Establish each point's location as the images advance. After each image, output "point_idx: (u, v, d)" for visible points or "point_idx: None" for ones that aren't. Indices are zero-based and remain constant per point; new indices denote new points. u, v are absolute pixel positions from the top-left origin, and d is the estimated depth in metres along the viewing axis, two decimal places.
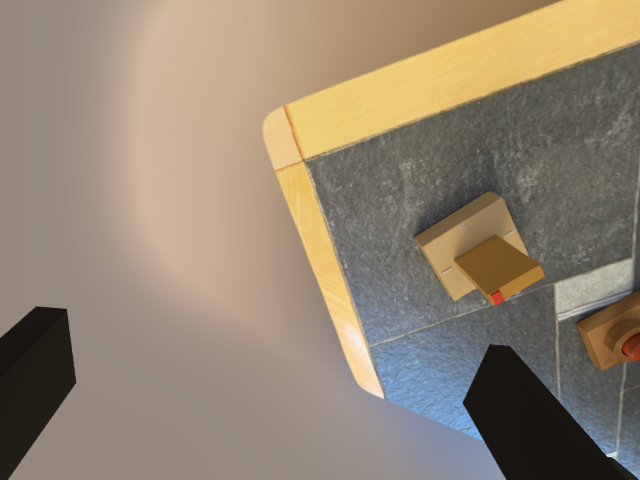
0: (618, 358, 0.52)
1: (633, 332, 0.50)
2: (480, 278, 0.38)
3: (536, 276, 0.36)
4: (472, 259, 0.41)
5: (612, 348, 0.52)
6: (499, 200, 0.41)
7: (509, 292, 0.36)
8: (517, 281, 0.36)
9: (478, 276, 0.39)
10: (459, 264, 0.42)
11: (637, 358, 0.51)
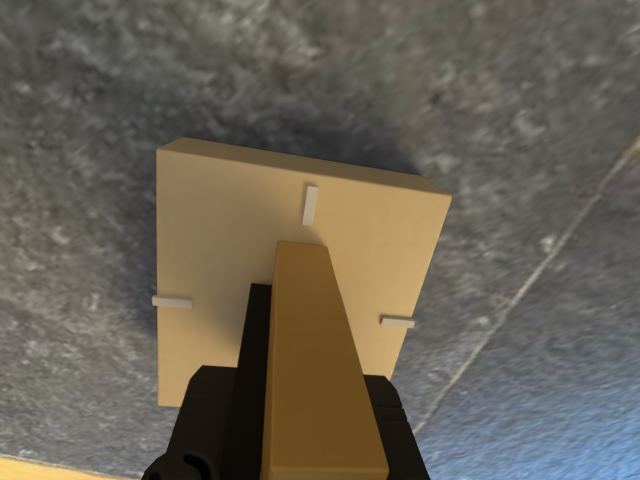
0: None
1: None
2: None
3: None
4: None
5: None
6: (159, 164, 0.11)
7: None
8: None
9: None
10: None
11: None
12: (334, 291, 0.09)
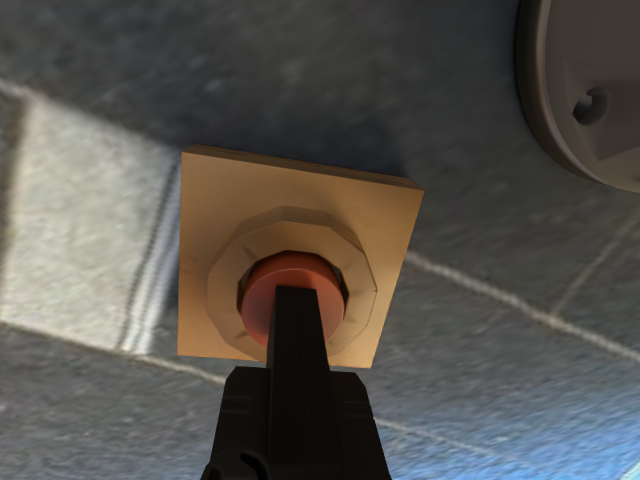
0: None
1: (222, 292, 0.14)
2: None
3: None
4: None
5: None
6: None
7: None
8: None
9: None
10: None
11: None
12: None
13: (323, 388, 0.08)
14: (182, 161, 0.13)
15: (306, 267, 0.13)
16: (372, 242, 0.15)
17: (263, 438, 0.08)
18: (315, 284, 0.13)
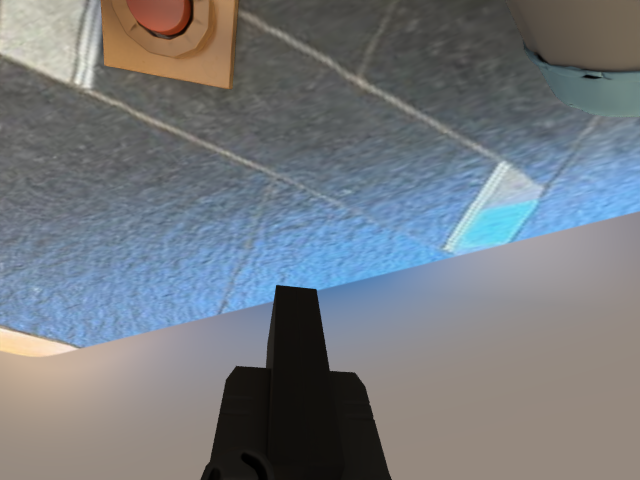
0: (174, 52, 0.27)
1: None
2: None
3: None
4: None
5: (144, 48, 0.27)
6: None
7: None
8: None
9: None
10: None
11: (165, 21, 0.25)
12: None
13: (323, 388, 0.08)
14: None
15: None
16: None
17: (263, 438, 0.08)
18: None
